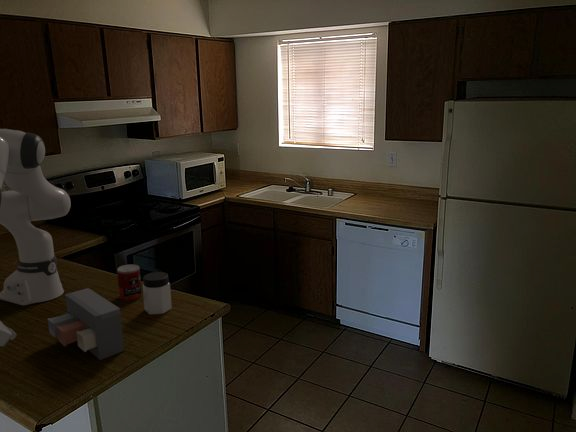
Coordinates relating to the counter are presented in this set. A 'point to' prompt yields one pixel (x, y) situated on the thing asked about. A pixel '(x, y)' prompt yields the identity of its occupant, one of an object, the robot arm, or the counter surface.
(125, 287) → the canned food
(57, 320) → the blue-grey key
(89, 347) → the ivory key
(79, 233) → the counter surface
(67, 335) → the brick key
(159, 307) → the jar
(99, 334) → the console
